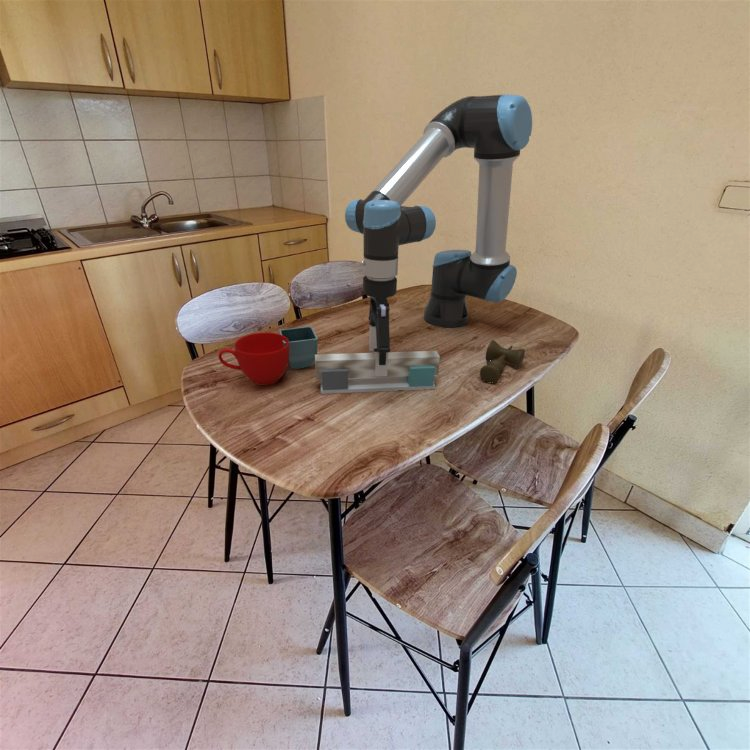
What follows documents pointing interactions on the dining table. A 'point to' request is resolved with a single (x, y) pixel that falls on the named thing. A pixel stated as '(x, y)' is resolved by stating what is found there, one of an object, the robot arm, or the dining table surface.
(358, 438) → the dining table surface
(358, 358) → the grey white bar
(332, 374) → the long grey teal holder
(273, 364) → the ceramic cup
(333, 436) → the dining table surface
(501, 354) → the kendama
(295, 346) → the flower pot
